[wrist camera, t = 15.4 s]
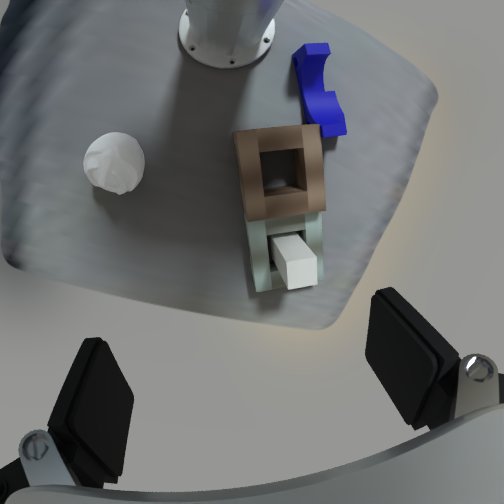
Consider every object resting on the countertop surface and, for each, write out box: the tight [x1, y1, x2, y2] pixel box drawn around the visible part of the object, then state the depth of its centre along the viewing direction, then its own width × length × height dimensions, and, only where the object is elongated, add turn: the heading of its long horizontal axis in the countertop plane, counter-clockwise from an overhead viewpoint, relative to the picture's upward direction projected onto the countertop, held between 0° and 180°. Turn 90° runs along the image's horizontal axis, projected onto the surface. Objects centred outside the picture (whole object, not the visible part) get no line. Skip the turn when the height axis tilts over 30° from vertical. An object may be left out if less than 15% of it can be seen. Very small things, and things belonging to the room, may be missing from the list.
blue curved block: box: [292, 43, 347, 138], centre depth 34 cm, size 12×4×6 cm, turn 11°
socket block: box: [233, 124, 326, 292], centre depth 39 cm, size 22×10×5 cm, turn 7°
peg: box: [270, 231, 317, 290], centre depth 39 cm, size 4×4×10 cm
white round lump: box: [83, 132, 145, 195], centre depth 33 cm, size 8×8×8 cm
